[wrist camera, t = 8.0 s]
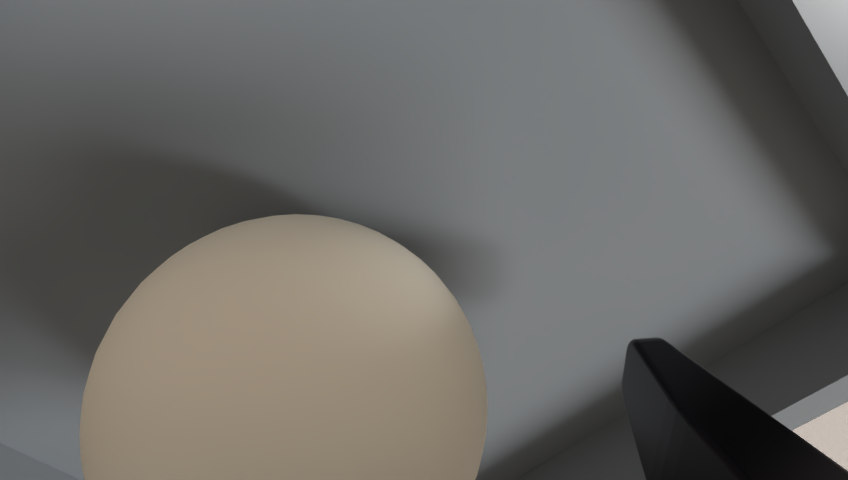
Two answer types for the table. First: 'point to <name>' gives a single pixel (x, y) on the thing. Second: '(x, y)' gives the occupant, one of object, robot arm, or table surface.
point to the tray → (444, 189)
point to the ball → (287, 364)
